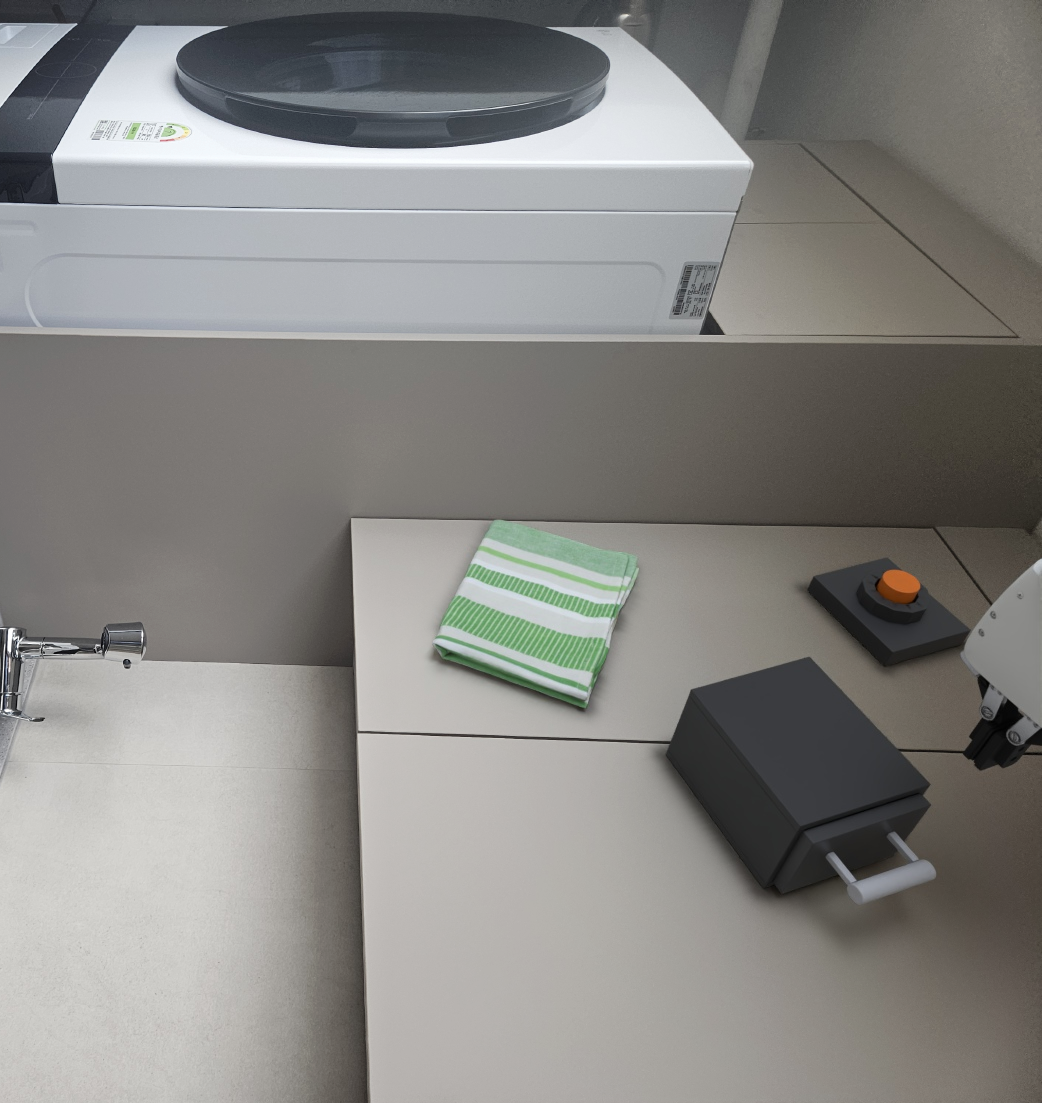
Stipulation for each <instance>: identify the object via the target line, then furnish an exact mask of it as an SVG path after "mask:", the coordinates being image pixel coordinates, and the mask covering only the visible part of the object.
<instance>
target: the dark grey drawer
mask: <svg viewBox="0 0 1042 1103" xmlns="http://www.w3.org/2000/svg"><path fill="white" fill-rule="evenodd" d="M931 806H932V804H931V802H930V801H929V800H928V799H927V798H926V797H925V795H922V794H921V793H919V794H916V795H913V796H910V797H907V798H904V799H901V800H898V801H894V802H891V803H888V804H887V803H885V804H882V805H878V806H875V807H872V808H869V809H866V810H863V811H860V812H857V813H854V814H851V815H848V816H844V817H841V818H838V819H835V820H832V821H829V822H826V823H823V824H820V825H817V826H813V827H810V828H807V829H805V830H804V831H803V832H802V834H801V836H800V837H799V839H798V841H797V842H796V844H795V845H794V847H793V849H792V850H791V852H790V854H789V855H788V857H787V859H786V860H785V862H784V864H783V865H782V867H781V869H780V870H779V872H778V874H777V875H776V877H775V879H774V880H773V883H774V884H775V885H774V886H775V887H776V888H777V890H778V891H779V892H780V895H781V894H786V893H789V892H792V891H795V890H798V889H800V888H804V887H806V886H807V887H808V886H809V885H812V884H816V883H819V882H822V881H824V880H827V879H830V878H833V877H836V876H840V878H841V880H843V882H844V883H845V884H846V885H847V887H846V891H847V895H848V897H849V898H850V900H851V901H852V902H853V903H854V904H856V905H864V904H867V903H870V902H872V901H876V900H878V899H881V898H884V897H887V896H890V895H893V894H896V893H899V892H902V891H904V890H907V889H910V888H913V887H916V886H919V885H921V884H925V883H927V882H930V881H933V880H934V879H936V877H937V872H936V868H935V867H934V865H933V864H932V863H931V862H930V861H929V860H926V859H923V858H922V859H919V857H918V856H917V855H916V854H915V853H914V852H913V851H912V850H911V848H910V847H909V846H908V844H906V842H905V841H906V840H907V839H908V837H909V836H910V835H911V833H912V832H913V831H914V829H915V828H916V827H917V825H918V824H919V822H920V821H921V820H922V819H923V817H924V816H925V814H926V813H927V812H928V811H929V809H930V808H931ZM897 852H899V853H900V855H901V856H902V857H903V858H904V860H906V862H907V864H904V865H902V866H899V867H895V868H892V869H890V870H887V871H884V872H880V873H878V874H874V875H872V876H869V877H867V878H864V879H863V878H862V879H861V880H857V879H856V878H855V876H854V875H853V874H852V873H851V871H854V870H857V869H859V868H863V867H865V866H868V865H872V864H874V863H878V862H881V861H883V860H886V859H889V858H893V857H894V856H895V855H896V853H897Z"/></svg>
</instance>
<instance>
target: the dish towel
mask: <svg viewBox="0 0 1042 1103" xmlns="http://www.w3.org/2000/svg"><path fill="white" fill-rule="evenodd" d="M638 561H639V558H638V556H636V555H634V554H632V553H629V552H625V551H624V552H623V551H616V550H608V549H602V548H599V547H595V546H592V545H589V544H586V543H584V542H580V541H577V540H575V539H570V538H567V537H564V536H562V535H557V534H554V533H551V532H547V531H544V530H540V529H537V528H534V527H531V526H529V525H526V524H522V523H519V522H513V521H508V520H503V519H494V520H493V521H492V522H491V523H490V525H489V527H488V530H487V531H486V533H485V535H484V536H483V538H482V540H481V542H480V544H479V546H478V547H477V550H476V551H475V554H474V556H473V558H472V559H471V561H470V564H469V565H468V567H467V569H466V572H465V574H464V577H463V579H462V581H461V582H460V583H459V584H460V585H459V586H458V588H457V590H456V592H455V594H454V596H453V597H452V598H451V601H450V602H449V604H448V606H447V609H446V611H445V613H444V615H443V616H442V619H441V621H440V624H439V630H438V632H437V634H436V636H435V638H434V640H433V641H432V646H433V647H434V648H435V649H436V651H437V652H438V653H439V656H440V657H441V658H442V659H443V660H448V661H450V662H454V663H457V664H459V665H463V666H466V667H468V668H472V669H474V670H477V671H480V672H483V673H486V674H488V675H492V676H493V677H497V678H498V679H502V680H504V681H507V682H510V683H513V684H516V685H519V686H521V687H525V688H527V689H531V690H534V691H537V692H539V693H542V694H544V695H546V696H548V697H552V698H555V699H558V700H560V701H564V702H567V703H569V704H572V705H574V706H576V707H580V708H583V709H586V708H587V706H588V704H589V700H590V696H591V694H592V692H593V688H594V686H595V684H596V681H597V678H598V676H599V673H600V671H601V669H602V667H603V665H604V663H605V661H606V659H607V656H608V653H609V651H610V646H611V640H612V635H613V632H614V630H615V627H616V624H617V621H618V618H619V614H620V611H621V609H622V607H624V605H625V603H626V601H627V599H628V598H629V596H630V593H631V591H632V589H633V587H634V584H635V582H636V579H637V578H638V575H639V572H640V568H639V567H638V566H637V565H638Z"/></svg>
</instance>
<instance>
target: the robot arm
mask: <svg viewBox="0 0 1042 1103" xmlns="http://www.w3.org/2000/svg"><path fill="white" fill-rule="evenodd" d="M966 639H967V640H965V643H964V646H963V650H962V651H961V652H960V653H959V659H960V660H961V662H963V664H964V665H965V667H967V668H966V669H968V670H969V672H970V673H971V674H972V675H973V676H974V677H975V678H977V685H978V689H979V692H980V696H981V700H982V701H981V703H980V705H979V708H978V712H979V715H980V716H981V719H979V721H978V723H977V724H976V725H975V726H974V728H973V729H972V731H971V732H970V733H969V735H968V738H969V739H970V740H971V741H970V742H969V744H968V745H967V746H966V748H965V749H964V751H963V752H962V755H963V756H964V758H966V759H967V760H968V761H973V763H974V764H973V766H974V767H975V768H976V769H977V770H978V771H980V772H982V771H985V770H987V769H990V768H994V767H996V766H999V767H1000V768H1001V769H1006V768H1009V767H1011V766H1013V765H1015V764H1016V763H1017V762H1018V761H1020V759H1021V758H1022V757H1023V755H1025V753H1026V752H1027V750H1029V748H1030V747H1031V746H1039V747H1042V558H1040V559H1038V560H1037V561H1036V562H1034V563H1033V564H1032V565H1031V566H1029V567H1028V568H1027V569H1026V570H1025V571H1024V572H1023V573H1022V574H1021V575H1020V576H1019V577H1017V579H1015V580H1014V581H1013V582H1012V583H1011V584H1010V585H1009V586H1008V587H1007V588H1006V589H1005V590H1003V592H1002V593H1001V594H1000V595H999V597H998V598H997V599H996V600H995V601H994V602H993V603H992V605H991V606H990V607H989V608H988V609H987V610H986V612H985V613H984V614H983V616H982V617H981V618H980V619H979V621H978V622H977V623H976V625H975V626H974V628H973V629H972V630H971V631H970V633H969V635H968V636H967V638H966ZM1023 713H1024V714H1025V715H1023Z"/></svg>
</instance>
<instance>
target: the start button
mask: <svg viewBox="0 0 1042 1103" xmlns="http://www.w3.org/2000/svg"><path fill="white" fill-rule="evenodd" d="M919 582H920V581H919V579H918V578H917V577H916V576H914V575H913V574H911V573H909V572H906V571H904V570H902V571H900V570H889V571H886V572H885V573H884V574H883V576H882V578H881V580H880V582H879V583H878V585H877V591H878V593H879V594H880V595H881V596H883V597H884V598H885V599H888V600H890V601H892V602H894V603H900V604H908V603H911V602H912V601H913V600H914V598H915V596H916V595H917V593H918V591H919V589H920V583H921V582H920V583H919Z"/></svg>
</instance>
